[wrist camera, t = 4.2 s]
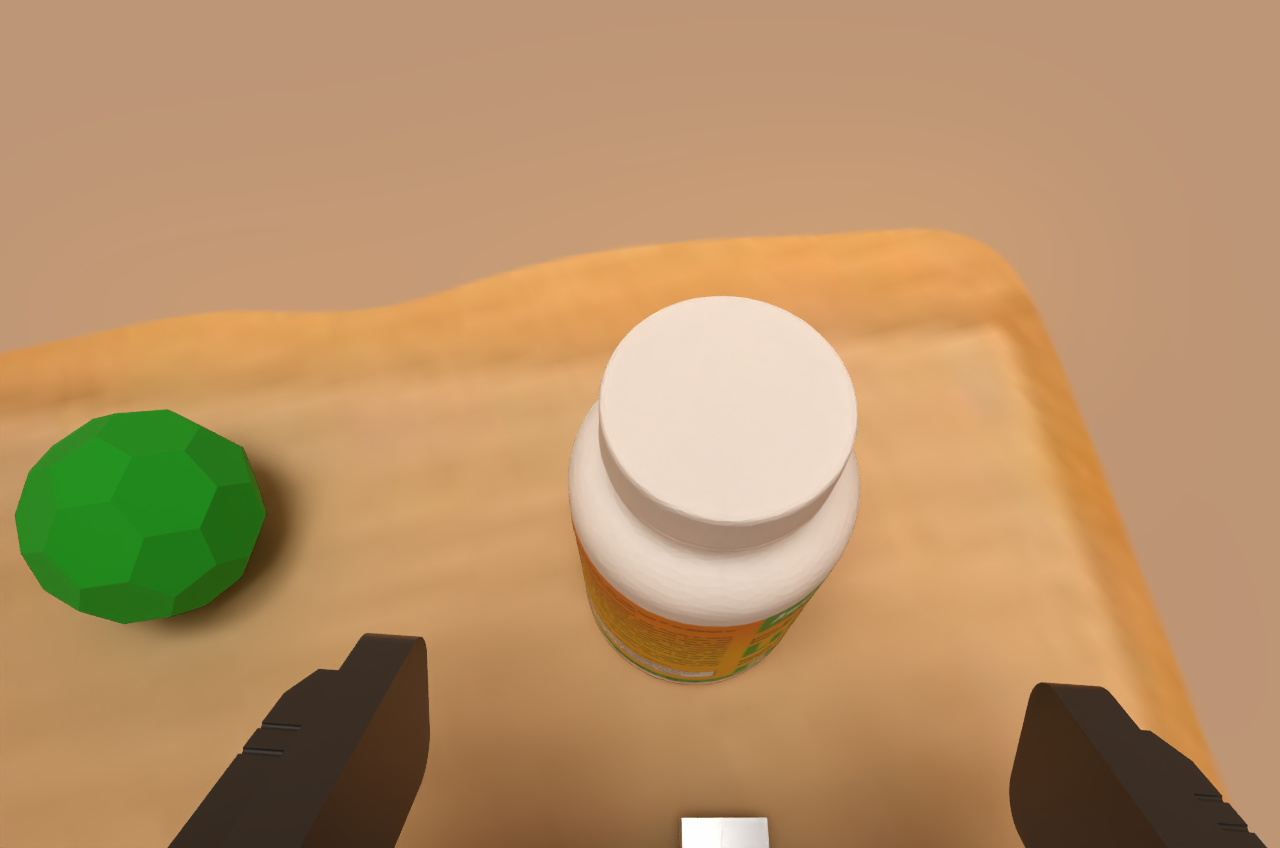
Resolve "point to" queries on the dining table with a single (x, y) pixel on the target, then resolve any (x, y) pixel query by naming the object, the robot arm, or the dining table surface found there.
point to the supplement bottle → (713, 485)
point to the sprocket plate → (723, 833)
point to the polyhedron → (139, 516)
